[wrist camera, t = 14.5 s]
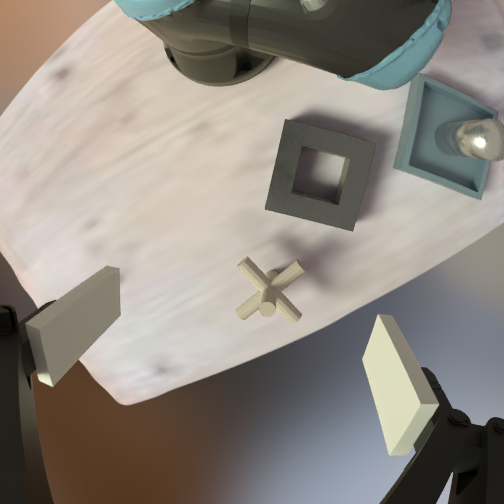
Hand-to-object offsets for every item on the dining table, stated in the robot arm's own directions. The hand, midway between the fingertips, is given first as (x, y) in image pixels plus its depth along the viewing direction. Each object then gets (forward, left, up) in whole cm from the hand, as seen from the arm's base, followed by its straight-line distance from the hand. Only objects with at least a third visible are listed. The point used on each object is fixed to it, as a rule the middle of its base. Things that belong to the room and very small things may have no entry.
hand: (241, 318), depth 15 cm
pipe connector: (+8, +2, -28) cm, 30 cm away
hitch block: (-6, +5, -28) cm, 29 cm away
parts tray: (-16, +21, -28) cm, 39 cm away
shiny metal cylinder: (-16, +21, -27) cm, 38 cm away
